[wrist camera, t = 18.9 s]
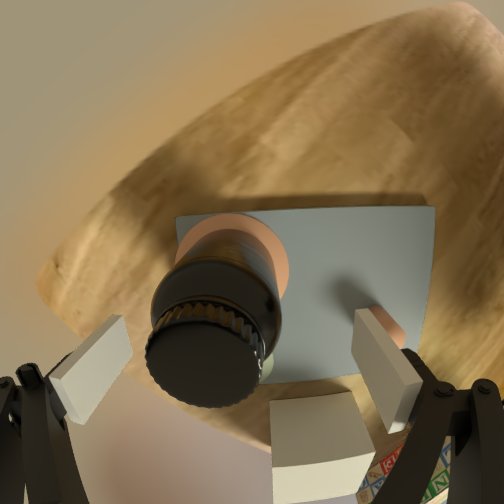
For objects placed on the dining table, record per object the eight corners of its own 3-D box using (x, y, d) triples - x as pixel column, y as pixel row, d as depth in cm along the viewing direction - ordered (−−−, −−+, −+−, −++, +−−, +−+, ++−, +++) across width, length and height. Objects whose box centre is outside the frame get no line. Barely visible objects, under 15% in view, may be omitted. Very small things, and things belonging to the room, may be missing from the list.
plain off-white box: (351, 391, 26) (375, 451, 18) (341, 439, 28) (356, 492, 20) (269, 400, 27) (272, 467, 18) (271, 447, 29) (273, 504, 20)
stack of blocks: (373, 483, 32) (388, 533, 21) (350, 480, 32) (365, 536, 20) (466, 404, 28) (502, 452, 16) (452, 395, 27) (492, 450, 15)
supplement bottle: (172, 247, 21) (91, 317, 10) (254, 213, 21) (248, 254, 9) (209, 322, 23) (174, 432, 11) (287, 294, 22) (312, 401, 10)
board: (428, 205, 22) (462, 211, 17) (409, 356, 25) (431, 383, 20) (173, 216, 22) (150, 226, 17) (198, 377, 26) (189, 412, 21)
